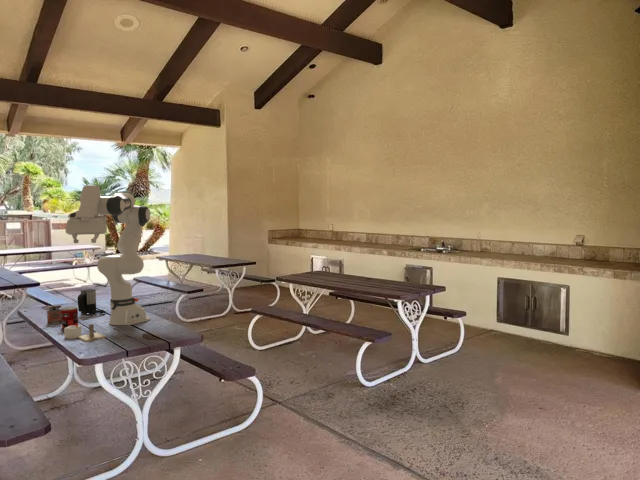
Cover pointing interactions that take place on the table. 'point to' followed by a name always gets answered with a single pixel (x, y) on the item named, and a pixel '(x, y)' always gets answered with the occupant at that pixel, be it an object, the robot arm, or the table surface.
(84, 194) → the robot arm
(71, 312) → the canned food
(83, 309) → the milk frother
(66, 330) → the beige hollow cube
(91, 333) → the shaft block
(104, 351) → the table surface
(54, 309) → the ornate red tin
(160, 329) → the table surface
